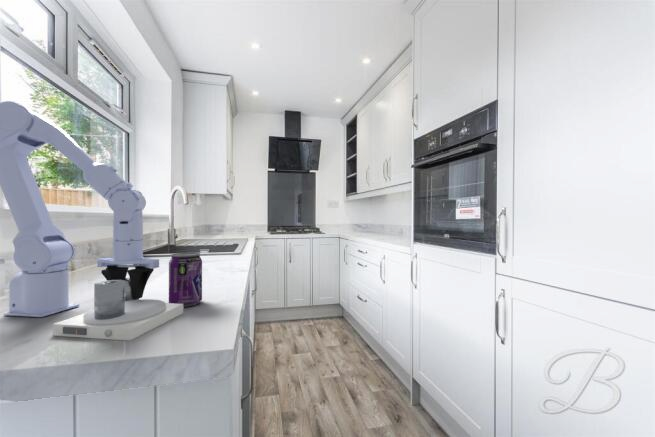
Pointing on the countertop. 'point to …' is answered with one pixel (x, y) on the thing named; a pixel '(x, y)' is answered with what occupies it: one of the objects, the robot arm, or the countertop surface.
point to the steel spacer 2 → (128, 289)
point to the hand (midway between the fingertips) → (128, 298)
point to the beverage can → (185, 279)
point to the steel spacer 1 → (109, 299)
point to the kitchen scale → (120, 321)
